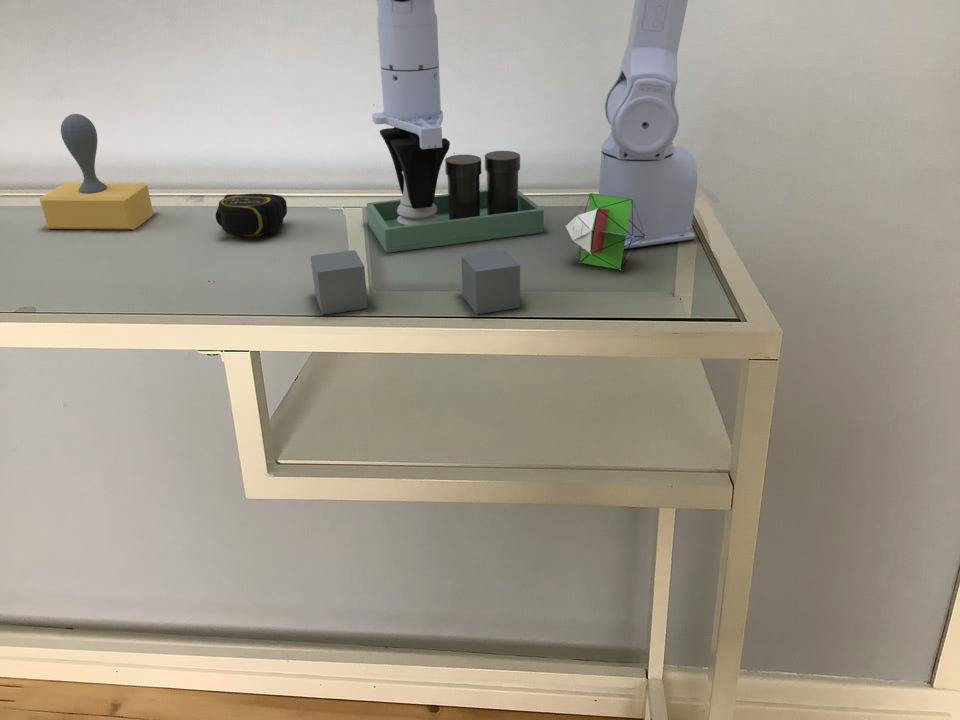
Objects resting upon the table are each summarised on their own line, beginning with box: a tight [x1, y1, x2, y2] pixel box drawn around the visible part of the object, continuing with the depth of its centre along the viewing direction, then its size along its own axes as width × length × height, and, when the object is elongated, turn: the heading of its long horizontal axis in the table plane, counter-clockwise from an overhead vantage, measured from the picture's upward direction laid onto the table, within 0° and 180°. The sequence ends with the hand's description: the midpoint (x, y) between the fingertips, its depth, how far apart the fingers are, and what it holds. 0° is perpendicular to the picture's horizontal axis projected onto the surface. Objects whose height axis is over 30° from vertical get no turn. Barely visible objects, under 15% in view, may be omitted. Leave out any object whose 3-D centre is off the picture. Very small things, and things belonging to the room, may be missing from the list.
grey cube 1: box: [310, 249, 369, 316], centre depth 71 cm, size 4×4×4 cm
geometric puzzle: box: [564, 192, 646, 271], centre depth 78 cm, size 7×7×8 cm
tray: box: [366, 188, 545, 254], centre depth 88 cm, size 17×9×2 cm, turn 108°
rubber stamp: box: [39, 113, 154, 231], centre depth 90 cm, size 10×6×12 cm, turn 86°
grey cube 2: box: [461, 249, 521, 315], centre depth 71 cm, size 4×4×4 cm
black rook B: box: [444, 154, 482, 220], centre depth 87 cm, size 4×4×7 cm
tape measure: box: [215, 193, 288, 238], centre depth 88 cm, size 7×7×4 cm
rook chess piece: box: [397, 158, 438, 226], centre depth 85 cm, size 4×4×8 cm
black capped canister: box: [484, 150, 521, 215], centre depth 88 cm, size 4×4×7 cm
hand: (417, 201), depth 86 cm, fingers closed on rook chess piece, 3 cm apart
